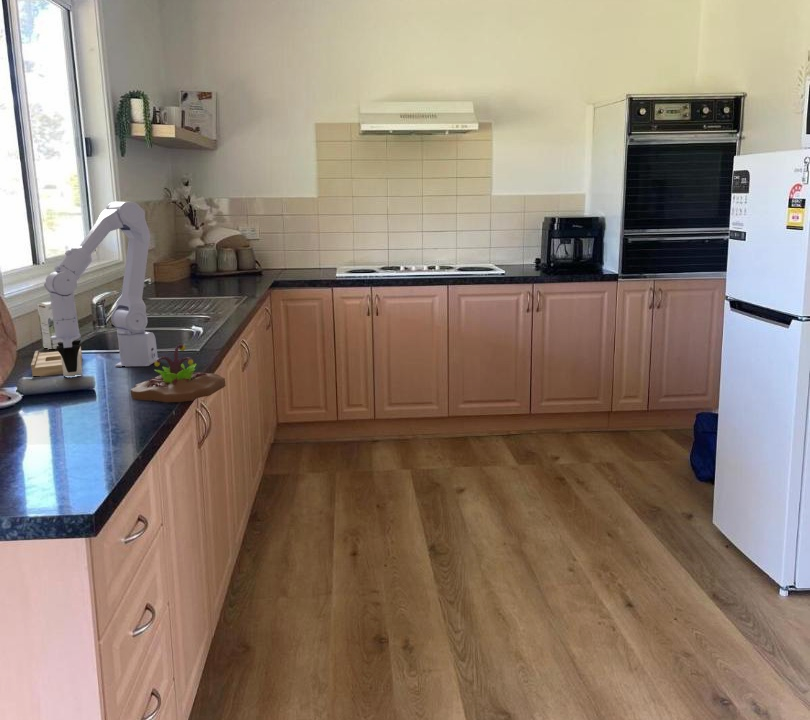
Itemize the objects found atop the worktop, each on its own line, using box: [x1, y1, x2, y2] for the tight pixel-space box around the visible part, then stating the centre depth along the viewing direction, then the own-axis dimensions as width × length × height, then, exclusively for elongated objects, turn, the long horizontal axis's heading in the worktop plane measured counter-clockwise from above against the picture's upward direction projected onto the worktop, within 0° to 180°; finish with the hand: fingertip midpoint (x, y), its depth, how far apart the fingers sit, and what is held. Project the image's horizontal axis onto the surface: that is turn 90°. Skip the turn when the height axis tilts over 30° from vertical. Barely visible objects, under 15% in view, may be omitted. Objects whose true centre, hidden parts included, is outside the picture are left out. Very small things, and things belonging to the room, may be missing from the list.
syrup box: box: [36, 300, 60, 350], centre depth 238 cm, size 6×6×14 cm
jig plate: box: [30, 345, 83, 377], centre depth 213 cm, size 20×12×3 cm, turn 22°
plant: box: [130, 343, 227, 403], centre depth 182 cm, size 20×20×11 cm
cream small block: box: [61, 352, 84, 377], centre depth 201 cm, size 5×5×6 cm
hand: (72, 369), depth 201 cm, fingers closed on cream small block, 5 cm apart
